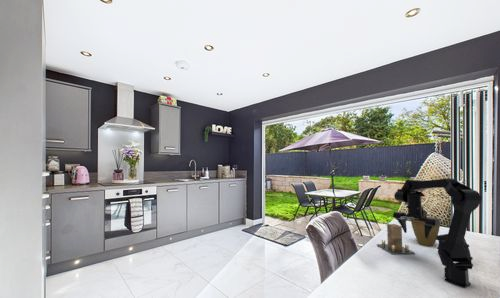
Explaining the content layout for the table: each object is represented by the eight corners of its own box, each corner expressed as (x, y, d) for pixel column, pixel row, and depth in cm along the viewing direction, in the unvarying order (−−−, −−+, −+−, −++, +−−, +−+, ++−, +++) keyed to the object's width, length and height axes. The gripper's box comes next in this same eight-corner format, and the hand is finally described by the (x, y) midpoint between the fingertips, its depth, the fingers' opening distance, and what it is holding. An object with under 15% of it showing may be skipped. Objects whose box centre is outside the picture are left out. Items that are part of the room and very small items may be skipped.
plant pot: (448, 249, 127) (447, 221, 129) (423, 248, 128) (421, 220, 129) (428, 240, 142) (427, 215, 143) (405, 240, 142) (404, 215, 144)
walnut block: (402, 249, 122) (401, 226, 123) (393, 249, 122) (393, 226, 123) (395, 246, 127) (395, 224, 128) (387, 246, 127) (387, 224, 128)
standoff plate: (415, 254, 118) (414, 246, 119) (392, 254, 118) (392, 247, 118) (397, 245, 131) (396, 239, 132) (376, 245, 130) (376, 239, 131)
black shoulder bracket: (478, 265, 103) (458, 232, 109) (447, 267, 113) (431, 236, 120) (481, 263, 104) (461, 231, 111) (450, 265, 114) (434, 236, 121)
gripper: (444, 206, 107) (445, 238, 106) (402, 200, 124) (403, 228, 122) (433, 207, 102) (435, 241, 101) (391, 201, 118) (392, 231, 117)
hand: (415, 235), depth 110 cm, fingers open, 9 cm apart
